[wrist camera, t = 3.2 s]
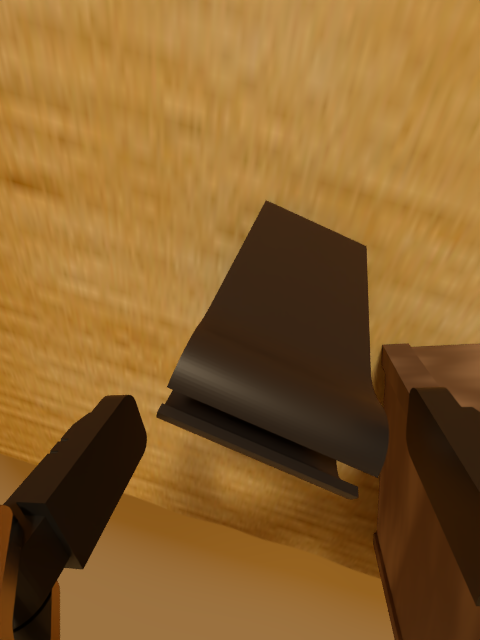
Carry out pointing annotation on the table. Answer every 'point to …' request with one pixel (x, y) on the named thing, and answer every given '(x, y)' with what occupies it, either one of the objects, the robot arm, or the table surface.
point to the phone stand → (287, 356)
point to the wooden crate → (421, 503)
